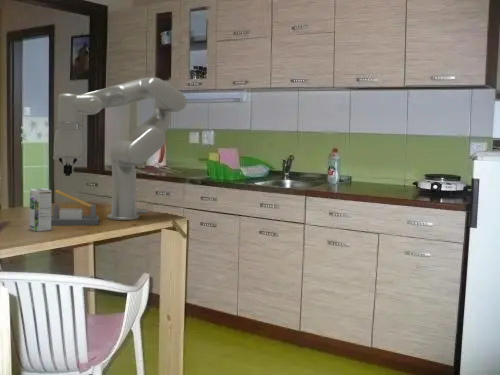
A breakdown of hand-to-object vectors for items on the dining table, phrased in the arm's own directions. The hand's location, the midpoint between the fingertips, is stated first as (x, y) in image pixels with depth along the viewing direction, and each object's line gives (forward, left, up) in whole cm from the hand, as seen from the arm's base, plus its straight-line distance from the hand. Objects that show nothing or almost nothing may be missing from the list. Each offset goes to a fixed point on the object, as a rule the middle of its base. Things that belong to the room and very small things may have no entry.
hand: (67, 175), depth 203 cm
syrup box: (+9, +12, -18) cm, 24 cm away
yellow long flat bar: (-2, 0, -10) cm, 10 cm away
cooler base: (-2, 0, -18) cm, 18 cm away
